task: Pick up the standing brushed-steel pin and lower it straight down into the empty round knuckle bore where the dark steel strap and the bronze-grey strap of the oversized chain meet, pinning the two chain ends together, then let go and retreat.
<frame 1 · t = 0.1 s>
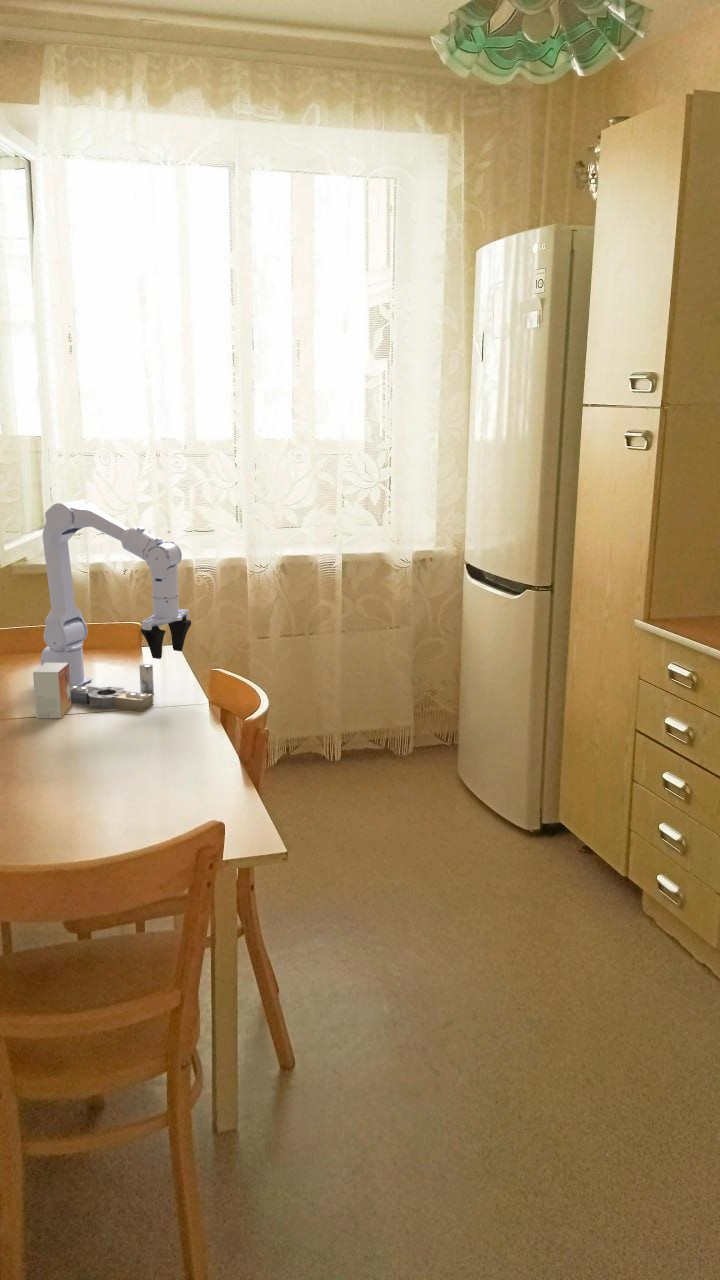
hand: (167, 654, 234), 10 cm above the table, fingers open, 7 cm apart
small box: (54, 714, 223), on the table
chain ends: (107, 703, 230), on the table
pin: (147, 694, 237), on the table
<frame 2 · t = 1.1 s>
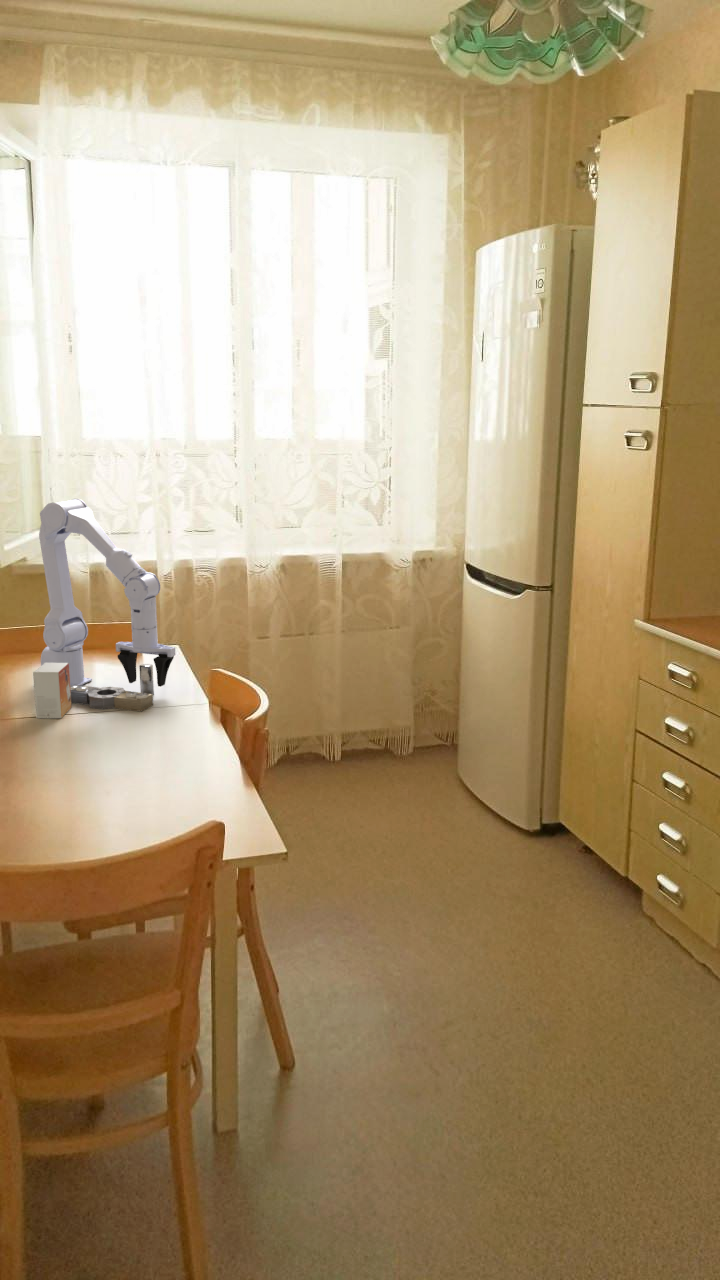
hand: (146, 683, 236), 3 cm above the table, fingers open, 7 cm apart
nothing on the table moved.
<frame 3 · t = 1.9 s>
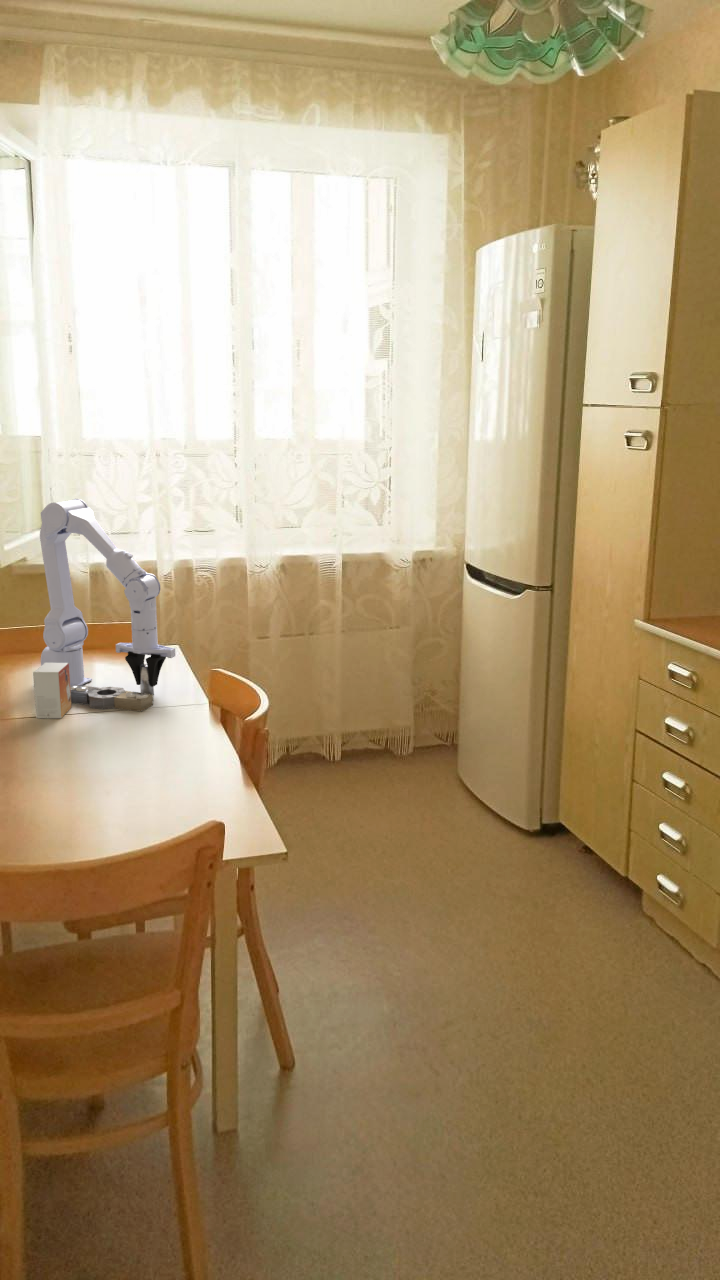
hand: (146, 684, 236), 2 cm above the table, fingers closed on pin, 3 cm apart
pin: (147, 694, 237), on the table, touching gripper
everything else where it was.
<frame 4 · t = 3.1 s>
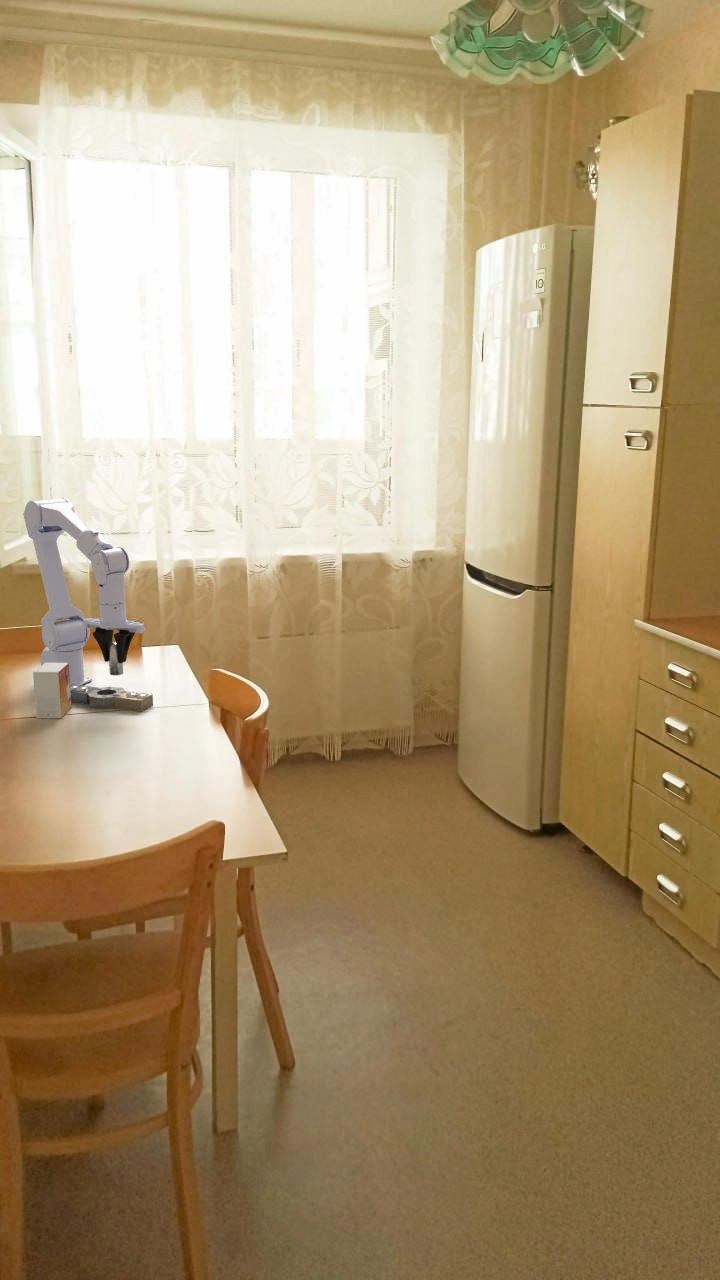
hand: (115, 661, 230), 9 cm above the table, fingers closed on pin, 3 cm apart
pin: (116, 673, 231), point 6 cm above the table, touching gripper
everything else where it was.
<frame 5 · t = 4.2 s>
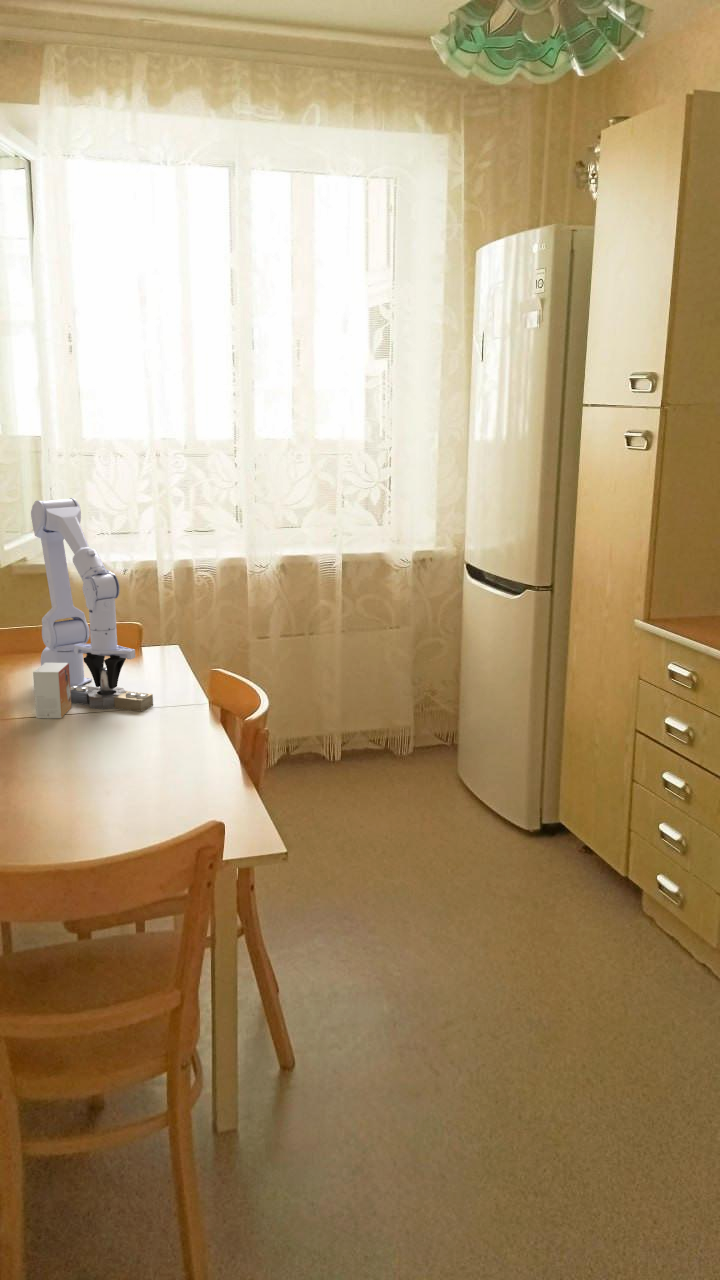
hand: (106, 686, 229), 4 cm above the table, fingers closed on pin, 3 cm apart
pin: (107, 698, 230), point 1 cm above the table, touching gripper
everything else where it was.
when the fingers open (4 cm above the table, at t = 4.6 s): pin stays where it is, resting in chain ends.
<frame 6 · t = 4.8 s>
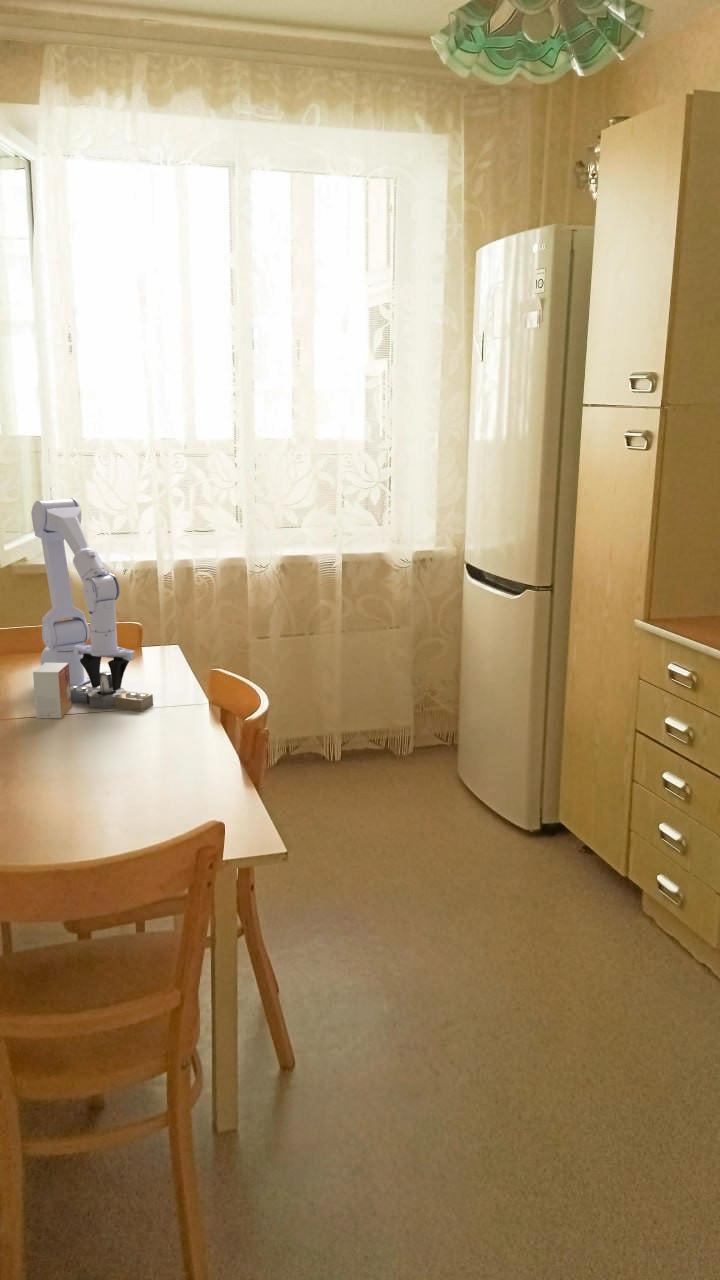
hand: (106, 688, 229), 4 cm above the table, fingers open, 5 cm apart
pin: (107, 703, 231), resting in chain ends
everything else where it was.
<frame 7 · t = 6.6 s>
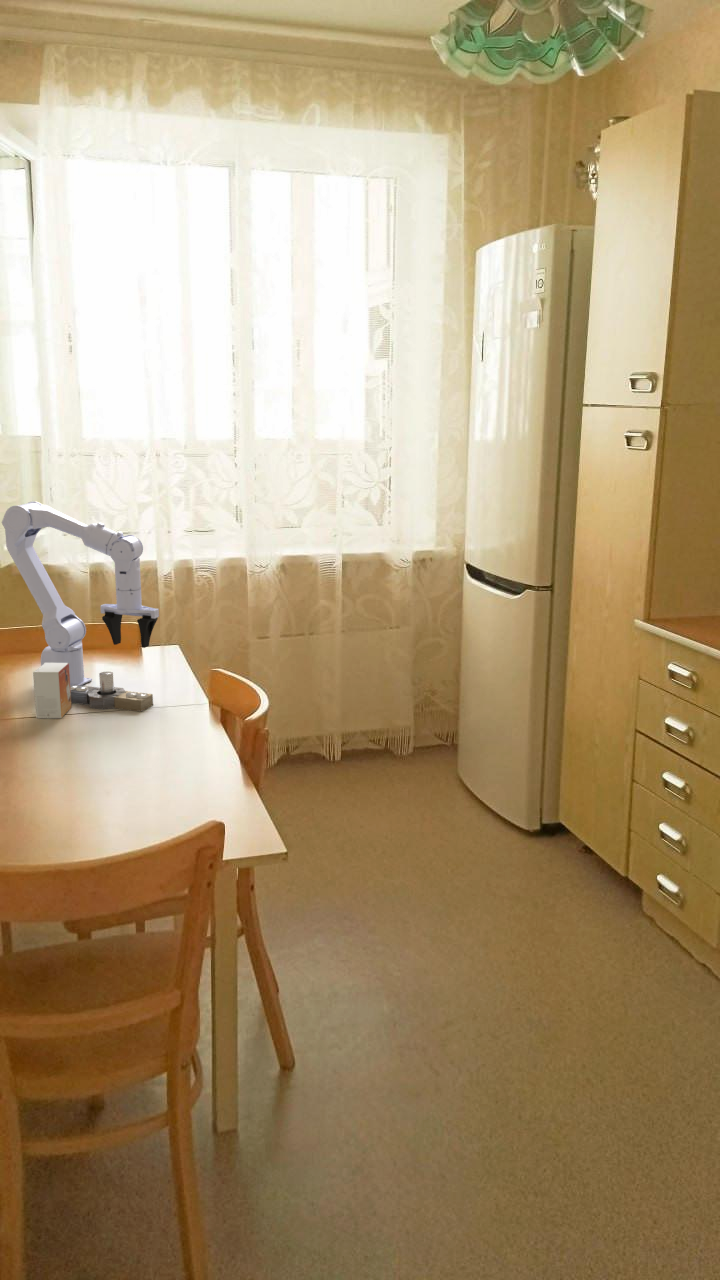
hand: (131, 645, 240), 10 cm above the table, fingers open, 7 cm apart
nothing on the table moved.
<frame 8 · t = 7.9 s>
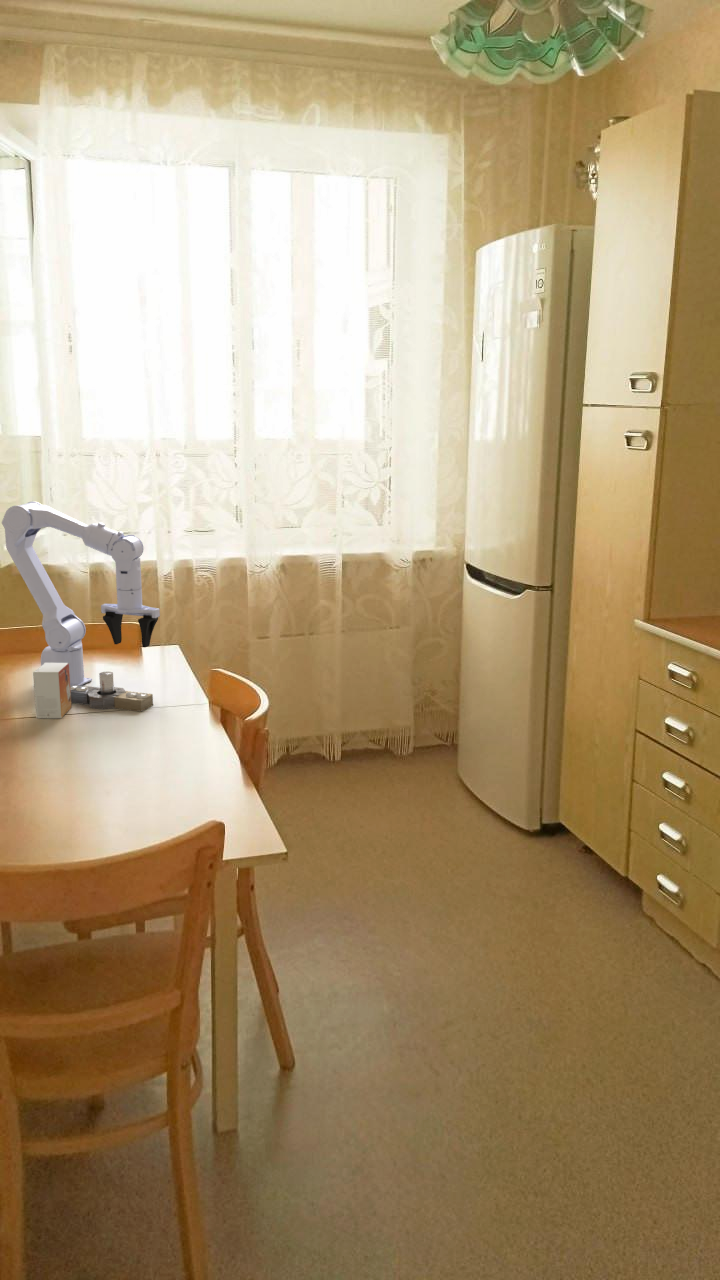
hand: (131, 644, 240), 10 cm above the table, fingers open, 7 cm apart
nothing on the table moved.
at the end: pin 0.2 cm off-centre on the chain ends, point 0.0 cm above the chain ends's base; pin tilted 0°; the gripper is holding nothing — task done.
